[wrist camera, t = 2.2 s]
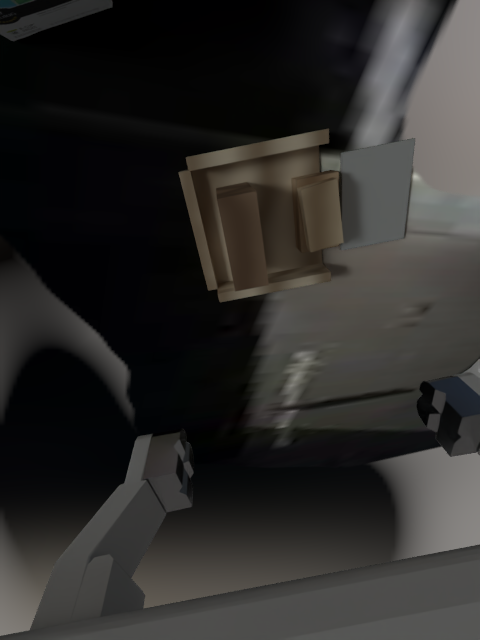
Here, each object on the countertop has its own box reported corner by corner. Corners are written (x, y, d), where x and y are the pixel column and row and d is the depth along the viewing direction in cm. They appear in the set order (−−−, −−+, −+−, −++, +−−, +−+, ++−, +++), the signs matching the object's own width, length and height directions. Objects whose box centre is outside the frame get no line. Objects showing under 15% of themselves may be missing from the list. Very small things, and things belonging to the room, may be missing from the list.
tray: (317, 130, 31) (328, 128, 28) (321, 270, 39) (330, 281, 36) (177, 158, 31) (173, 159, 28) (210, 292, 39) (210, 304, 36)
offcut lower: (330, 170, 33) (338, 171, 31) (331, 240, 37) (338, 246, 35) (290, 178, 33) (296, 180, 31) (296, 247, 37) (301, 253, 35)
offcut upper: (332, 177, 31) (337, 178, 30) (338, 239, 34) (343, 242, 33) (297, 188, 31) (300, 190, 30) (307, 248, 35) (310, 252, 33)
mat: (412, 138, 32) (415, 138, 32) (401, 237, 38) (403, 238, 37) (340, 152, 32) (342, 152, 32) (340, 249, 38) (341, 250, 37)
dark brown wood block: (246, 181, 33) (256, 191, 25) (257, 258, 37) (268, 285, 30) (215, 188, 33) (216, 199, 25) (230, 263, 37) (235, 291, 30)
